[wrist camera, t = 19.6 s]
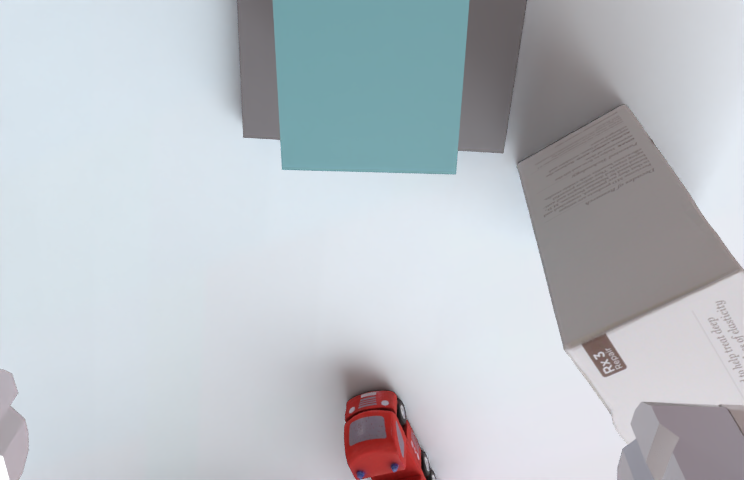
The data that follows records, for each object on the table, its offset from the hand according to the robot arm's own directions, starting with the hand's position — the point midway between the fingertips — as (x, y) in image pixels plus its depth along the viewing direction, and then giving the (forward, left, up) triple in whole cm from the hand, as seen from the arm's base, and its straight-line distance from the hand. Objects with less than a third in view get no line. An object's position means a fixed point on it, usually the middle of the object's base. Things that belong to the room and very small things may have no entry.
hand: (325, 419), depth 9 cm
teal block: (0, 0, -19) cm, 19 cm away
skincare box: (+11, -8, -25) cm, 29 cm away
